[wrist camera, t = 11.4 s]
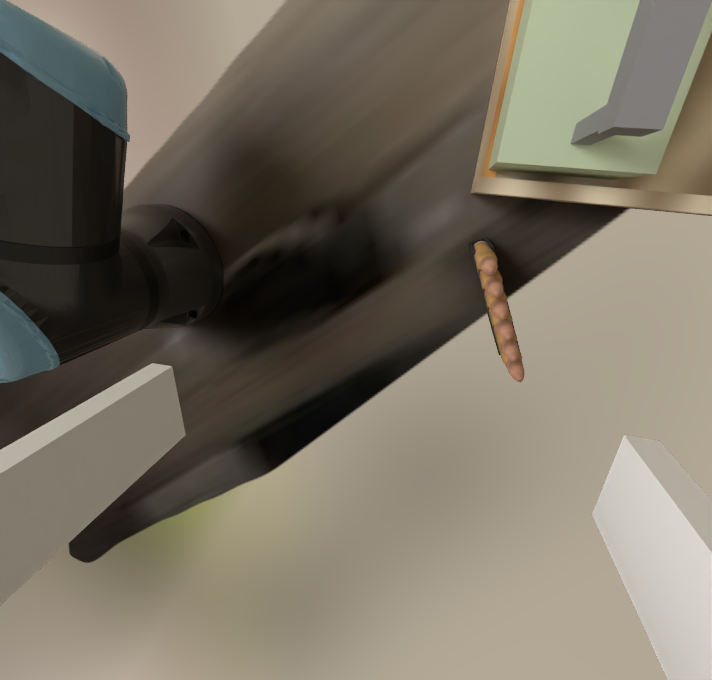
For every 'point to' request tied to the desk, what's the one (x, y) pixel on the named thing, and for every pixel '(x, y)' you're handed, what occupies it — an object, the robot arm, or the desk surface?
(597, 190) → the bay
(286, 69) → the desk surface
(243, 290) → the desk surface
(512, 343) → the ammunition clip
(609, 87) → the green panel with handle
